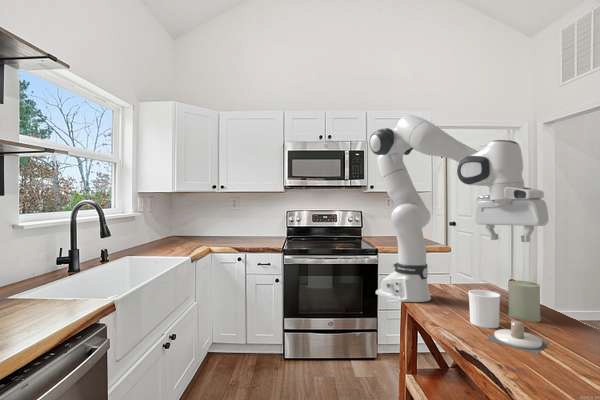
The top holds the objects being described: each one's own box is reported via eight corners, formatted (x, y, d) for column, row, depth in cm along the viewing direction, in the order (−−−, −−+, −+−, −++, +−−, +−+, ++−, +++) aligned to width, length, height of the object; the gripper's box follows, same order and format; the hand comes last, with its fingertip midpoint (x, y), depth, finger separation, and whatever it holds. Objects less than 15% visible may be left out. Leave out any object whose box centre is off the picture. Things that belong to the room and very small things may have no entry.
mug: (507, 329, 101) (507, 296, 101) (483, 332, 99) (482, 298, 99) (481, 318, 112) (480, 287, 112) (458, 320, 110) (457, 289, 110)
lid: (488, 339, 92) (488, 321, 92) (502, 329, 99) (501, 313, 99) (536, 353, 84) (535, 333, 84) (546, 341, 91) (546, 322, 91)
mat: (486, 342, 92) (486, 339, 92) (500, 331, 100) (500, 328, 100) (537, 357, 83) (537, 354, 83) (549, 343, 91) (549, 340, 91)
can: (546, 323, 107) (546, 285, 107) (515, 321, 109) (514, 284, 109) (532, 313, 116) (532, 279, 116) (503, 312, 118) (503, 278, 118)
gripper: (468, 196, 106) (471, 239, 105) (535, 191, 87) (538, 244, 87) (482, 195, 109) (484, 238, 108) (550, 191, 90) (553, 242, 89)
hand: (509, 240), depth 97 cm, fingers open, 8 cm apart
